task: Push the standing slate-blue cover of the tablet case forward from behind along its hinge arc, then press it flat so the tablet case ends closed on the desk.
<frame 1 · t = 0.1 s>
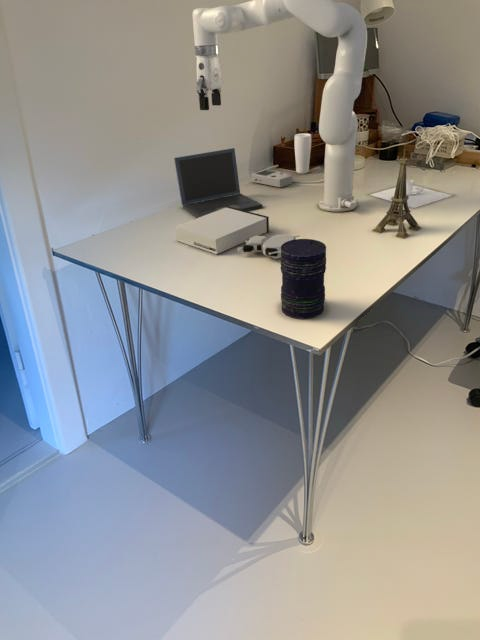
hand: (210, 107, 184), 31 cm above the table, tool pointing down, fingers open, 9 cm apart
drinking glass: (302, 172, 224), on the table
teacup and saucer: (410, 195, 191), on the table
disc drive: (223, 237, 164), on the table
dark blue cylinder: (302, 309, 123), on the table
eiffel tower: (396, 230, 162), on the table
robot toy: (269, 253, 151), on the table
handheld gaming device: (272, 183, 212), on the table
tablet: (222, 208, 188), on the table
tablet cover: (208, 176, 191), point 9 cm above the table, hinge at 100.0°
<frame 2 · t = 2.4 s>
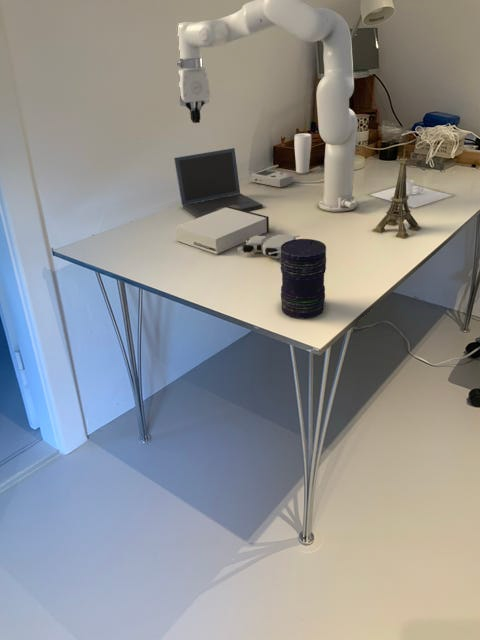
hand: (195, 122, 188), 26 cm above the table, tool pointing down, fingers closed
nothing on the table moved.
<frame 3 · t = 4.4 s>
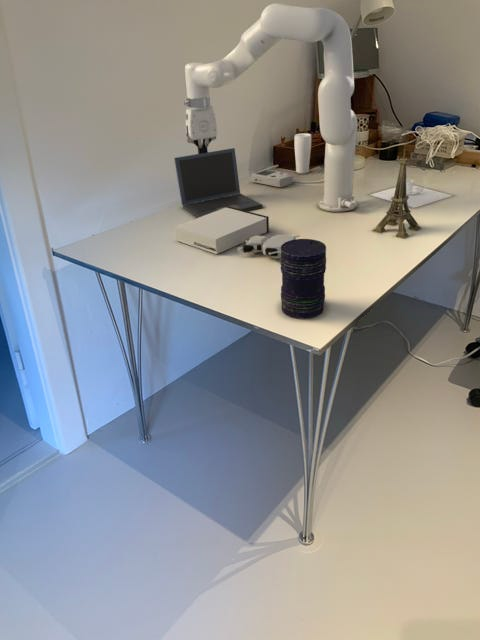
hand: (203, 158, 191), 15 cm above the table, tool pointing down, fingers closed
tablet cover: (208, 176, 191), point 9 cm above the table, hinge at 99.6°, touching gripper
everything else where it was.
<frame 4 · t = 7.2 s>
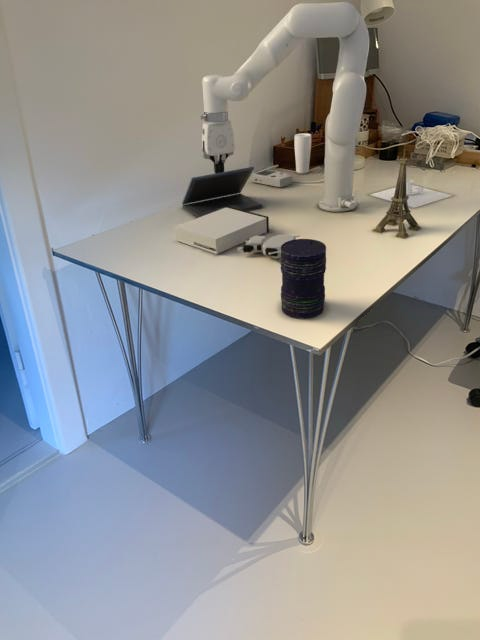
hand: (219, 174, 182), 12 cm above the table, tool pointing down, fingers closed
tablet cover: (217, 186, 187), point 7 cm above the table, hinge at 45.1°, touching gripper
everything else where it was.
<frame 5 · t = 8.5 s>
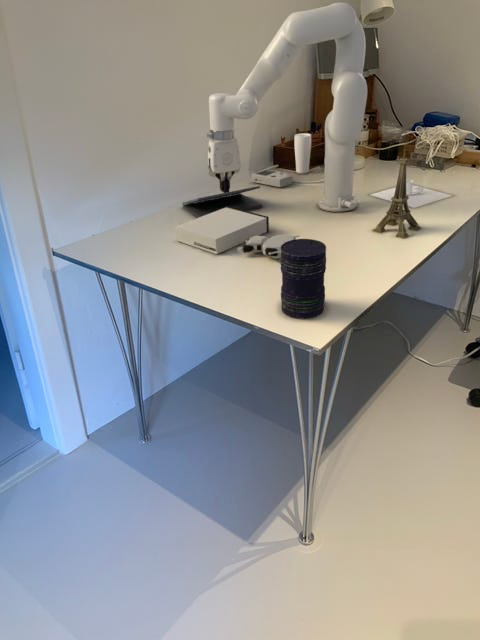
hand: (225, 191, 182), 7 cm above the table, tool pointing down, fingers closed
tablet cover: (220, 195, 187), point 4 cm above the table, hinge at 19.7°, touching gripper
everything else where it was.
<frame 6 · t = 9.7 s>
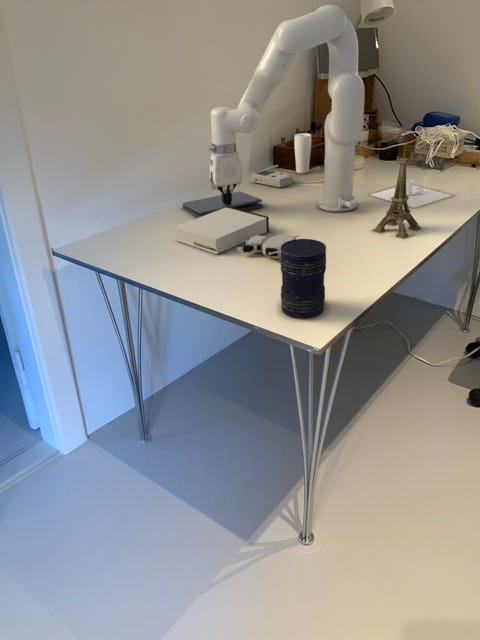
hand: (227, 203, 183), 3 cm above the table, tool pointing down, fingers closed
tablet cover: (221, 202, 187), point 2 cm above the table, hinge at 3.4°, touching gripper, tablet
everything else where it was.
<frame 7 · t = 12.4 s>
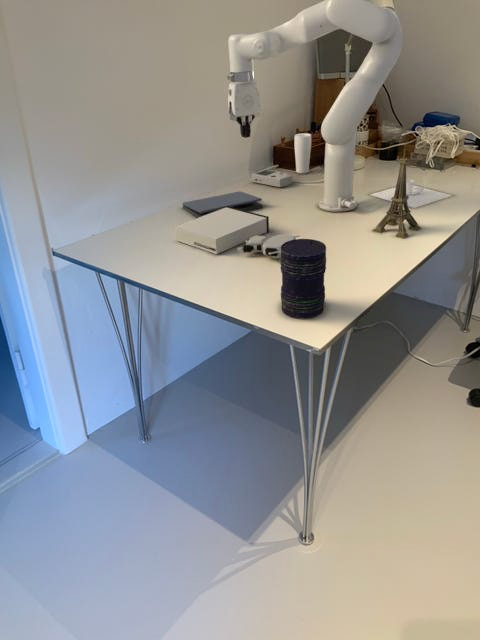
hand: (245, 136, 182), 22 cm above the table, tool pointing down, fingers closed
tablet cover: (221, 201, 187), point 2 cm above the table, hinge at 4.5°
everything else where it was.
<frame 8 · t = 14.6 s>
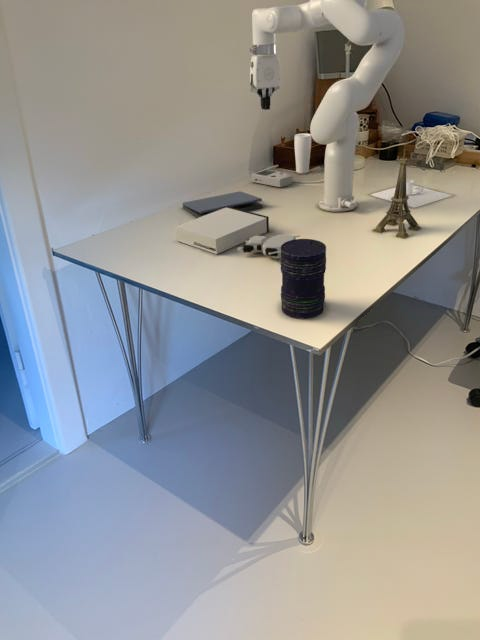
hand: (265, 109, 189), 29 cm above the table, tool pointing down, fingers closed
nothing on the table moved.
at the end: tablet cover at +4° (first picture: +100°) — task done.
